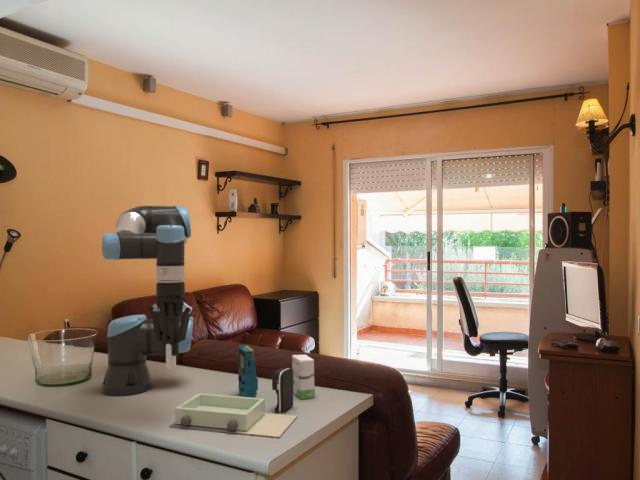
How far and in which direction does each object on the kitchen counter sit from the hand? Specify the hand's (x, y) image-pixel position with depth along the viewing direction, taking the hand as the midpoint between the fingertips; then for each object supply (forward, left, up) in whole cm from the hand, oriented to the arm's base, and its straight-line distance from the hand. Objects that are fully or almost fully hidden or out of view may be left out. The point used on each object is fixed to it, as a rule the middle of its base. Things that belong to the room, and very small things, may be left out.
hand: (171, 367), depth 139 cm
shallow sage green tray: (+15, 0, -13) cm, 20 cm away
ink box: (+30, +27, -14) cm, 42 cm away
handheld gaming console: (+14, +21, -14) cm, 29 cm away
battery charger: (+28, +13, -14) cm, 34 cm away
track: (+19, 0, -13) cm, 23 cm away
